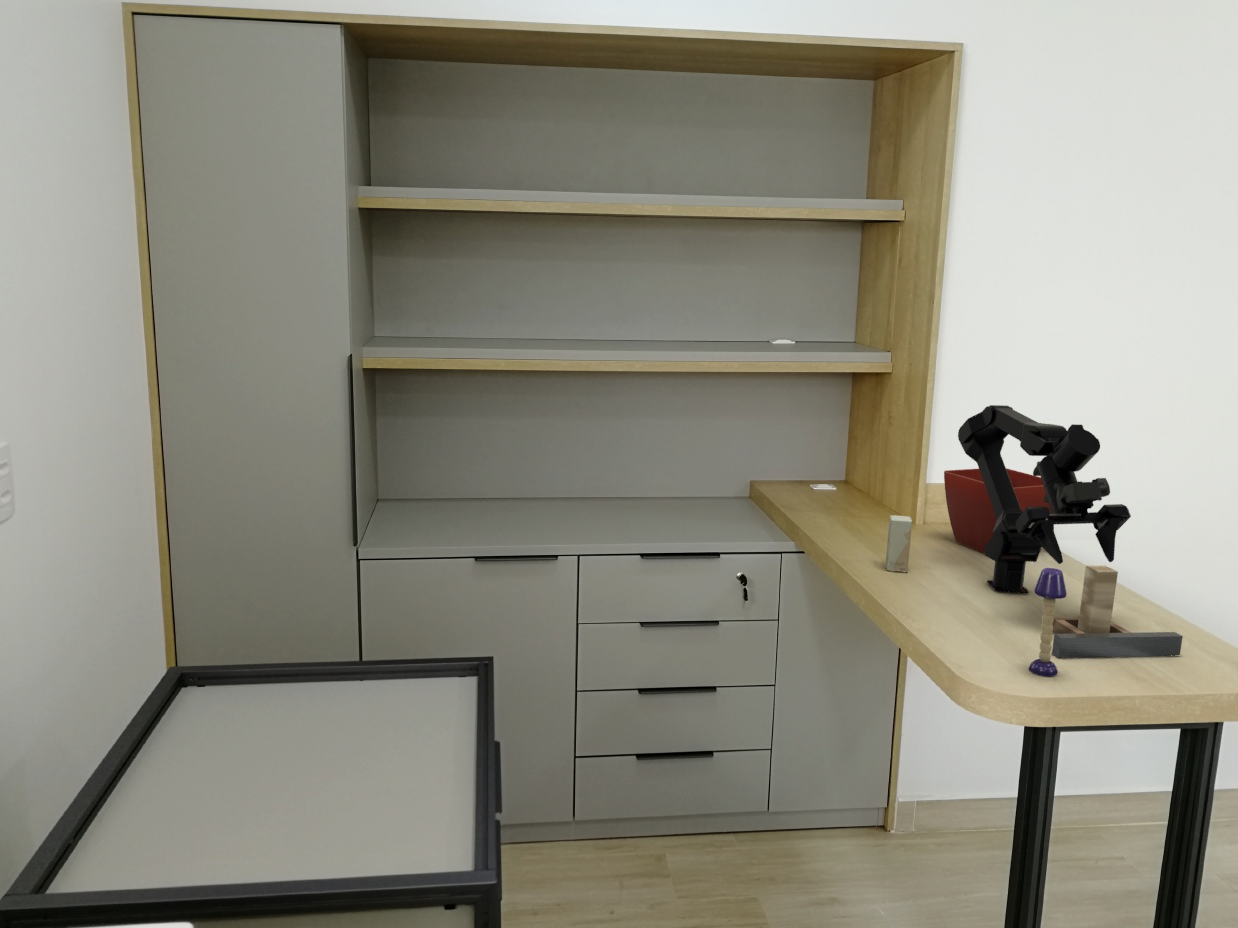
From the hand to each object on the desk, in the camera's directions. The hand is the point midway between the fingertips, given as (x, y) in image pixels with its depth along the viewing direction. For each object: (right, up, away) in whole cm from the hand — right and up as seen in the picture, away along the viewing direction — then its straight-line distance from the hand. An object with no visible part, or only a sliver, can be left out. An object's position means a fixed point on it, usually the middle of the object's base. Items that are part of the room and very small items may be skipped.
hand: (1086, 561), depth 180 cm
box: (-23, -5, +37) cm, 44 cm away
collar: (0, -14, -1) cm, 14 cm away
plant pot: (+5, -3, +57) cm, 58 cm away
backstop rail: (+1, -15, -8) cm, 17 cm away
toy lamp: (-15, -16, -16) cm, 27 cm away
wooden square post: (0, -14, -1) cm, 14 cm away
